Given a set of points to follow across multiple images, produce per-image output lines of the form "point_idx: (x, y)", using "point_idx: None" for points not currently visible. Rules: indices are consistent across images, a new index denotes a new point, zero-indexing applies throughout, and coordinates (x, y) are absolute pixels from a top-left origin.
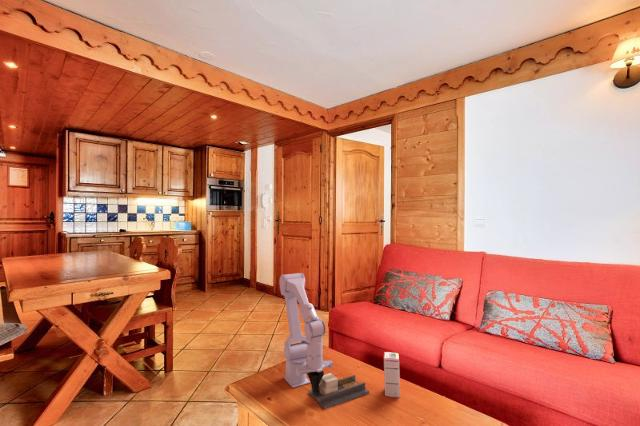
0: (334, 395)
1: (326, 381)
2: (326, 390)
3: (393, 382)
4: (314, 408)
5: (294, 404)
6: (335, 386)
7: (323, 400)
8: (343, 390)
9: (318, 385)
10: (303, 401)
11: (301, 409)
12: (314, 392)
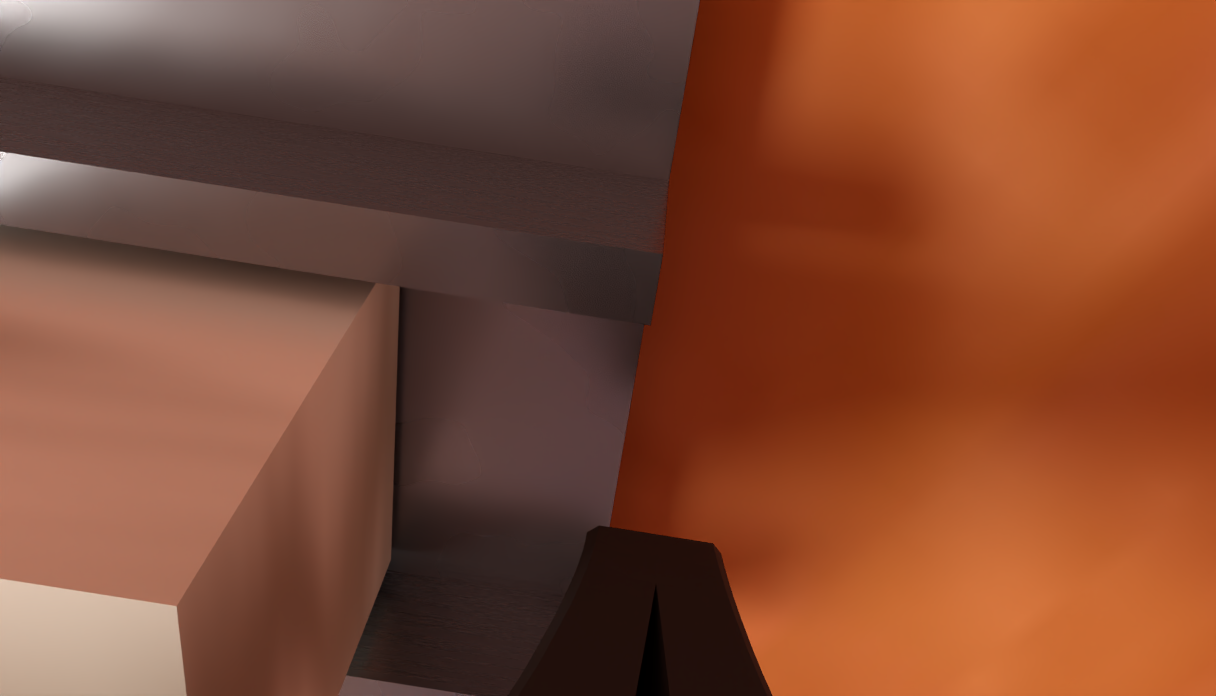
0: (119, 138)
1: (137, 640)
2: (314, 371)
3: None
4: (886, 180)
5: (1124, 588)
6: None
7: (571, 185)
8: None
9: (576, 665)
10: (882, 553)
11: (1172, 357)
12: (529, 613)
